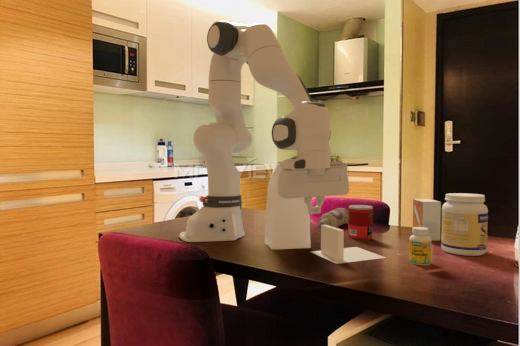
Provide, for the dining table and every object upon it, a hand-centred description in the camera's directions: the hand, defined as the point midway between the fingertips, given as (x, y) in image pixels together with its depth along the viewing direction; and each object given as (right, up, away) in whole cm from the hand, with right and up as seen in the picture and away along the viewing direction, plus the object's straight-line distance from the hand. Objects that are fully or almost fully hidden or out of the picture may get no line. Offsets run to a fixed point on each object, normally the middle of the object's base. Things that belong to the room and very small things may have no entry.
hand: (314, 213), depth 113 cm
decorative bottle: (+12, -11, +50) cm, 52 cm away
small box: (+42, -12, +30) cm, 53 cm away
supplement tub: (+45, -13, +11) cm, 48 cm away
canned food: (+19, -12, +30) cm, 37 cm away
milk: (-6, -12, +18) cm, 23 cm away
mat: (+10, -13, +5) cm, 17 cm away
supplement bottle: (+27, -13, -3) cm, 30 cm away
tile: (+5, -12, +3) cm, 14 cm away
